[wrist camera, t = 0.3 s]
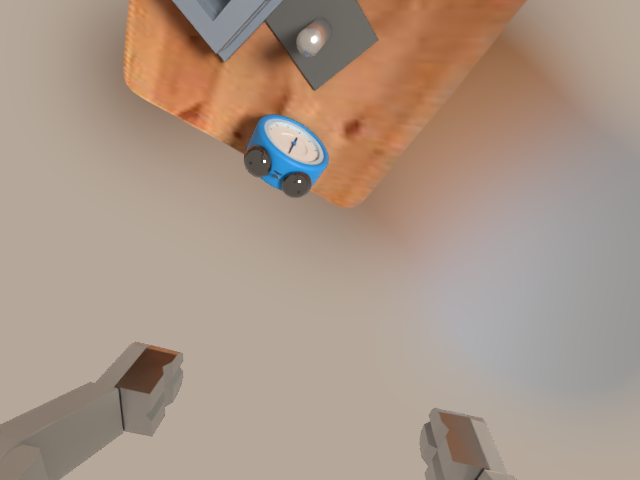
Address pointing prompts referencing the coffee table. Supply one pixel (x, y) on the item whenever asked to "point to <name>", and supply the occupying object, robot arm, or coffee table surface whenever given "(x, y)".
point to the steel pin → (313, 37)
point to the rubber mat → (343, 44)
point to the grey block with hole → (226, 21)
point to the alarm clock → (285, 155)
